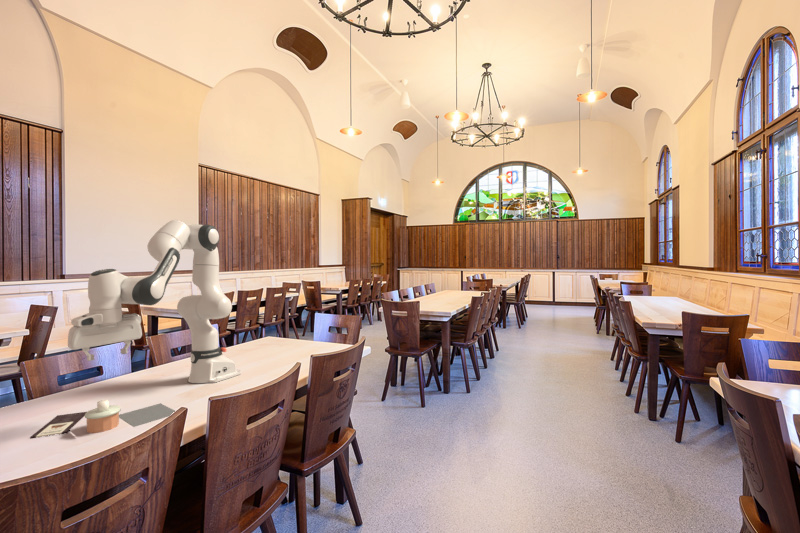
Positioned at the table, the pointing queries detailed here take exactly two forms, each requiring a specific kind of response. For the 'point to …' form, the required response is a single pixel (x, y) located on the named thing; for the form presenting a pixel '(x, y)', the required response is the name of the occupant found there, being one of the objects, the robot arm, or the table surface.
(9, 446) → the table surface
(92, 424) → the cup
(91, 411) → the lid
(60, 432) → the chocolate bar
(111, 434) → the table surface
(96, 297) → the robot arm
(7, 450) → the table surface
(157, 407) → the mat
